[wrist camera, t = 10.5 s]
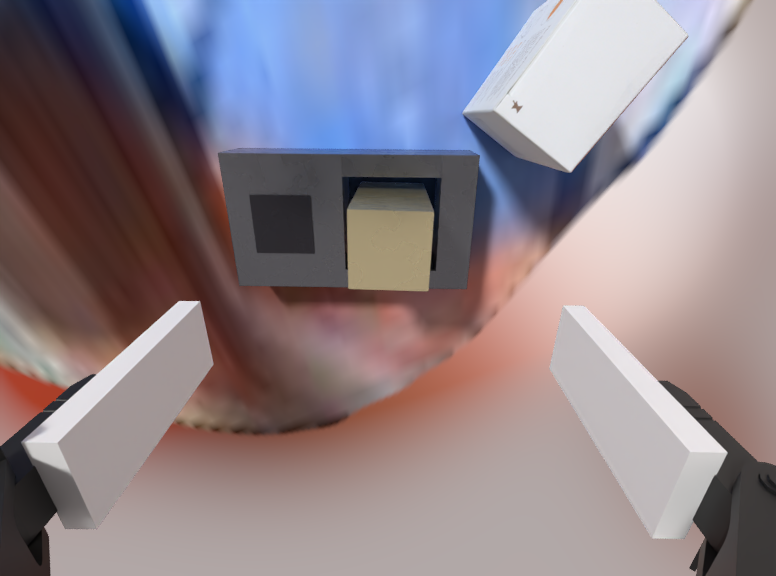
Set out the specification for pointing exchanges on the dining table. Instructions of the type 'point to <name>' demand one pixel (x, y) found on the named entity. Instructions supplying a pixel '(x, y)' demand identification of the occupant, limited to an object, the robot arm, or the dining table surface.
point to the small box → (572, 76)
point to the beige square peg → (389, 237)
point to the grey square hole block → (336, 210)
